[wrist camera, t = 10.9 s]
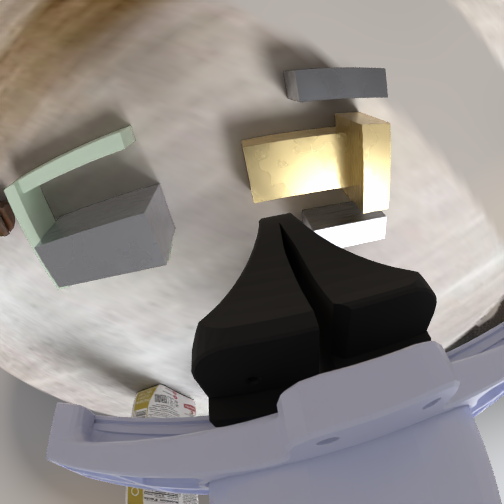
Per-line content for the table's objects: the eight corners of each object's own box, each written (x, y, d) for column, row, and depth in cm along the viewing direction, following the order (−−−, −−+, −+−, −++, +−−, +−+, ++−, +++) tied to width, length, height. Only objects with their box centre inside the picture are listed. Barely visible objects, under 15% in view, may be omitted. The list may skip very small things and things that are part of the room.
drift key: (361, 183, 21) (388, 208, 18) (253, 202, 21) (260, 233, 18) (358, 111, 18) (390, 123, 14) (238, 127, 18) (242, 140, 14)
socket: (368, 218, 23) (384, 238, 21) (304, 231, 23) (314, 253, 21) (362, 67, 16) (385, 68, 13) (283, 71, 16) (294, 70, 13)
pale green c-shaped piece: (172, 244, 23) (167, 267, 20) (69, 269, 23) (57, 289, 21) (130, 125, 17) (116, 133, 14) (22, 175, 17) (3, 190, 15)
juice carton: (128, 390, 37) (118, 528, 18) (159, 379, 35) (154, 538, 16) (171, 410, 42) (170, 533, 23) (203, 400, 40) (210, 538, 21)
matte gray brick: (175, 226, 22) (166, 264, 18) (79, 251, 22) (59, 287, 18) (159, 182, 20) (144, 213, 16) (61, 215, 20) (34, 247, 16)
